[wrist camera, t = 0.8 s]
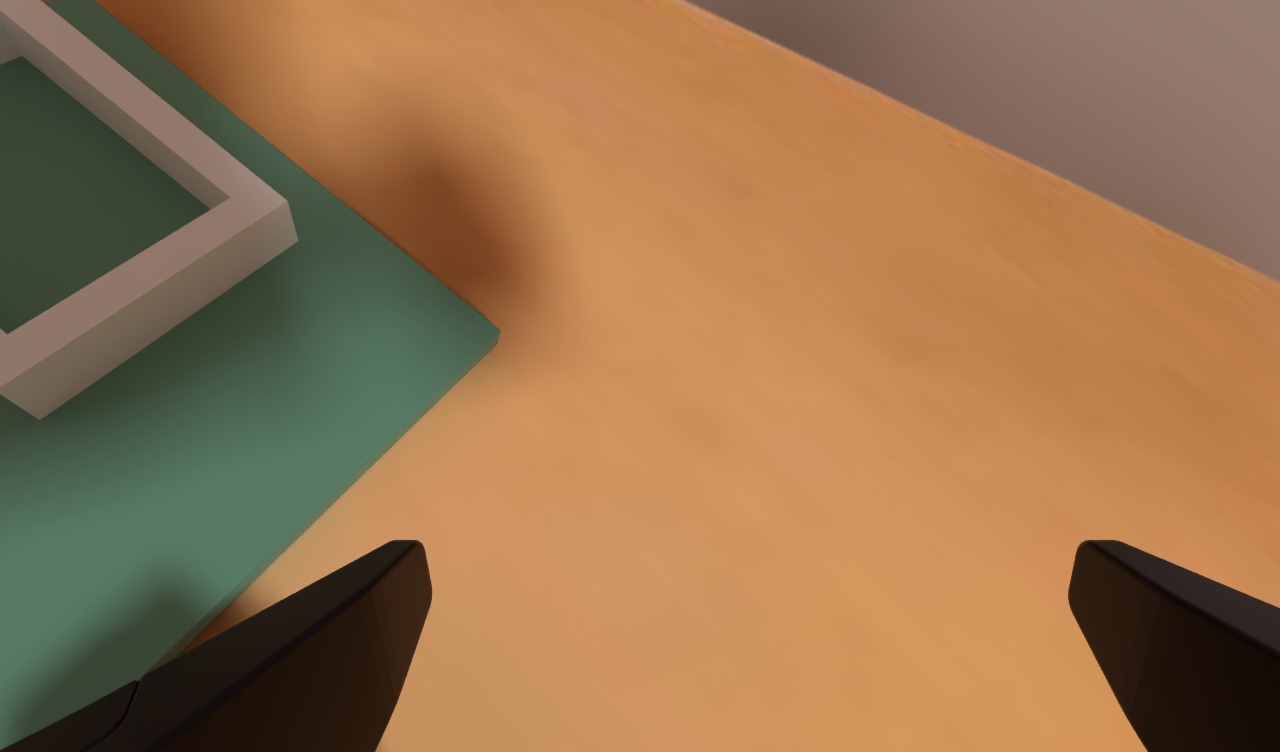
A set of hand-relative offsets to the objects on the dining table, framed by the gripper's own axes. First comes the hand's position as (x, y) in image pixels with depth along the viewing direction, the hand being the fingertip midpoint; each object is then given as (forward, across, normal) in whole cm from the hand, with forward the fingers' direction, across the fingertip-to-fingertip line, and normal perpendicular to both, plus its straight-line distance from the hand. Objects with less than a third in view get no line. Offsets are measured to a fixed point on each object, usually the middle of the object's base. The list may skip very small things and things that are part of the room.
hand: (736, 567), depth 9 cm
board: (+9, +18, -2) cm, 20 cm away
